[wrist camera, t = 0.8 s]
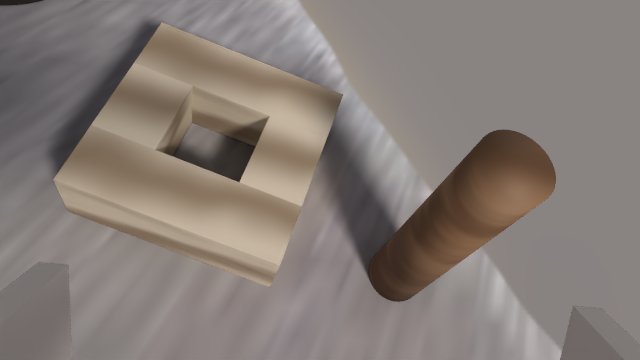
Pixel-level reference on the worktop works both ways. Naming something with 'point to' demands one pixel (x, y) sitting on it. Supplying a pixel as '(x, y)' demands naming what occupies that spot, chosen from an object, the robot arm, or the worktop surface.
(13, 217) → the worktop surface
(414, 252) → the peg
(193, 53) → the socket block
